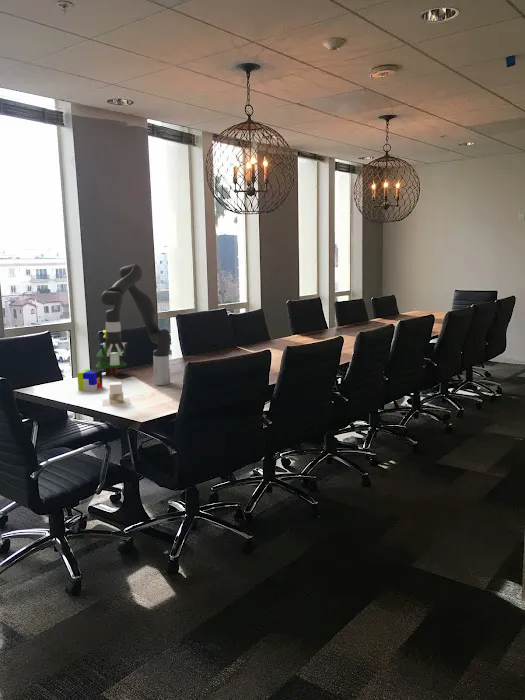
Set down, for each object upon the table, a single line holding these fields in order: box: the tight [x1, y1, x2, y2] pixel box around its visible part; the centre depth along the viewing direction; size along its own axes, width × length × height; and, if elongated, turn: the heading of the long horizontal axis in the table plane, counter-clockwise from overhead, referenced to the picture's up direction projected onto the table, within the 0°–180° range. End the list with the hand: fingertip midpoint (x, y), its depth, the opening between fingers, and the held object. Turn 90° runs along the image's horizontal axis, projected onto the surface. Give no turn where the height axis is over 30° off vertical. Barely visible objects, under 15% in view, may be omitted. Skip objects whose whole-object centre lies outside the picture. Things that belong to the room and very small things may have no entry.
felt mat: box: [102, 397, 132, 407], centre depth 310 cm, size 14×14×1 cm
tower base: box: [108, 390, 125, 404], centre depth 310 cm, size 7×7×5 cm
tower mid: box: [109, 381, 123, 394], centre depth 309 cm, size 6×6×5 cm
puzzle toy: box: [77, 369, 104, 392], centre depth 342 cm, size 10×10×10 cm
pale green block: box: [109, 352, 120, 366], centre depth 306 cm, size 5×5×6 cm
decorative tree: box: [95, 329, 127, 377], centre depth 377 cm, size 19×19×30 cm
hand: (114, 362), depth 307 cm, fingers closed on pale green block, 5 cm apart
